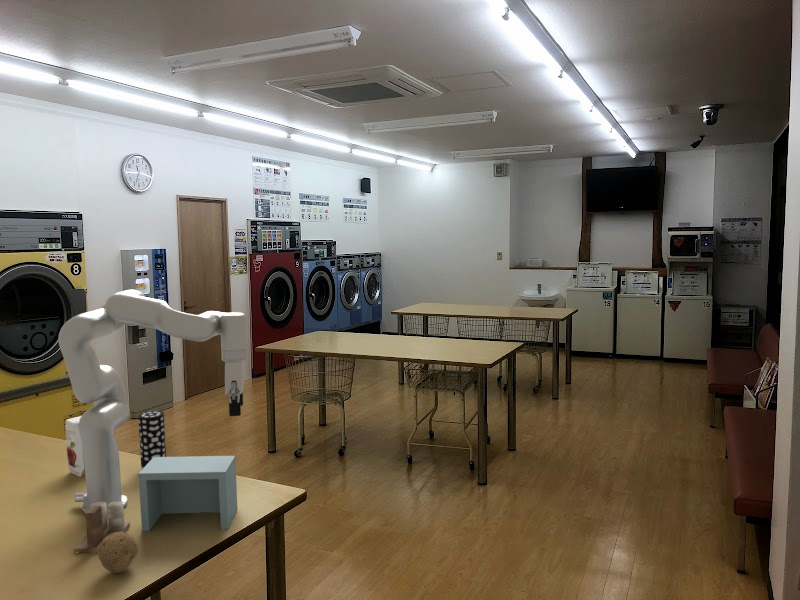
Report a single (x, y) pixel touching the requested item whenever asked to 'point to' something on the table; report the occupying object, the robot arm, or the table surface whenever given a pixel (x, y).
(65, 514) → the table surface
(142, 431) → the white-spotted black cylinder
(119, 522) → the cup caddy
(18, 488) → the table surface
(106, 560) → the natural sponge
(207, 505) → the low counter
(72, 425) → the juice carton
